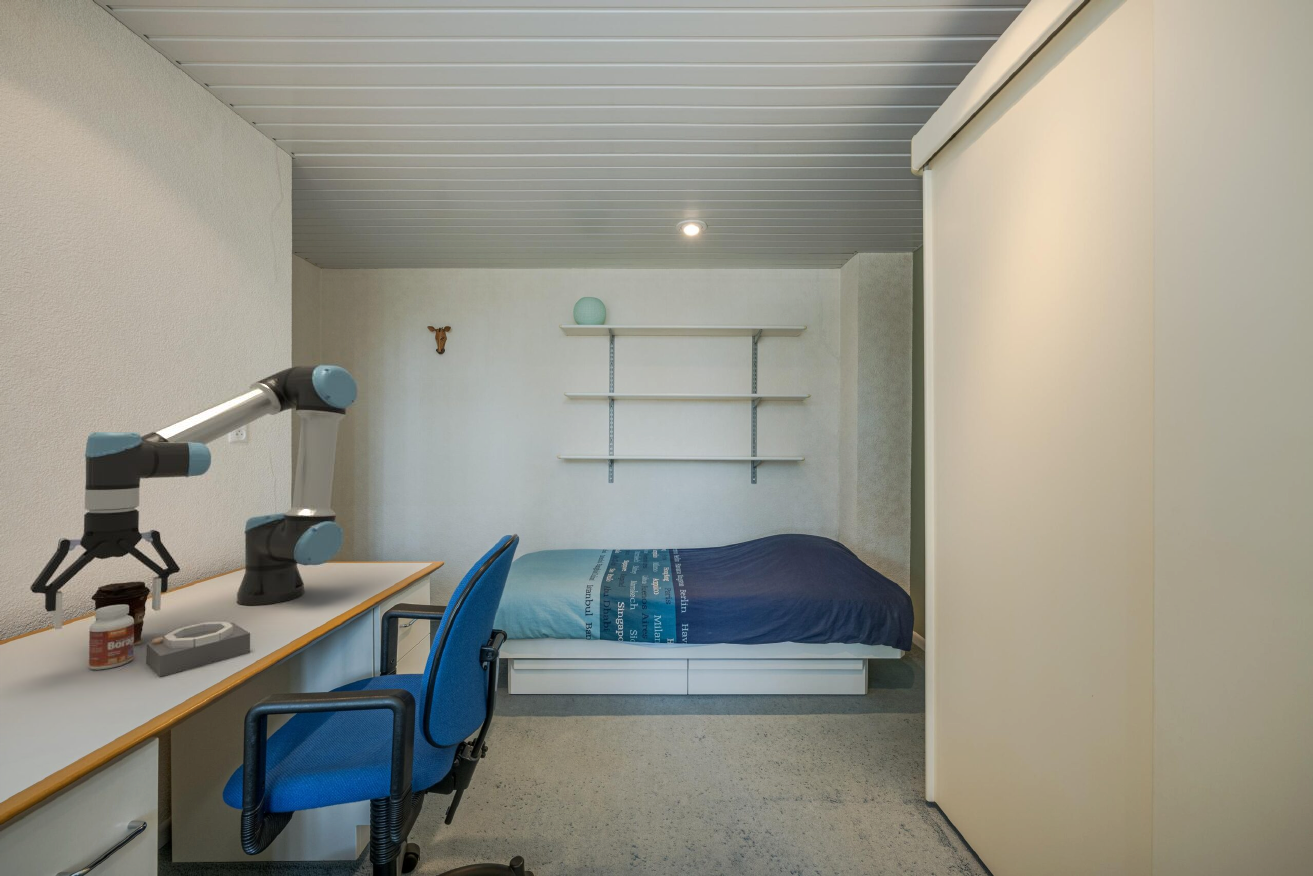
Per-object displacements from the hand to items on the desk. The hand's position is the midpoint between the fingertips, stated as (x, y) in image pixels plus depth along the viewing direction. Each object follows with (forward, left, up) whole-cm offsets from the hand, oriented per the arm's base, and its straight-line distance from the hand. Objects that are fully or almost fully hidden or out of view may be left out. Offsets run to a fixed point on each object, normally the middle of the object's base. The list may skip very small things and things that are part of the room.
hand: (109, 618), depth 104 cm
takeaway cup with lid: (-3, -11, -9) cm, 15 cm away
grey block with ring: (-11, +10, -9) cm, 18 cm away
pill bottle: (0, 0, -9) cm, 9 cm away
